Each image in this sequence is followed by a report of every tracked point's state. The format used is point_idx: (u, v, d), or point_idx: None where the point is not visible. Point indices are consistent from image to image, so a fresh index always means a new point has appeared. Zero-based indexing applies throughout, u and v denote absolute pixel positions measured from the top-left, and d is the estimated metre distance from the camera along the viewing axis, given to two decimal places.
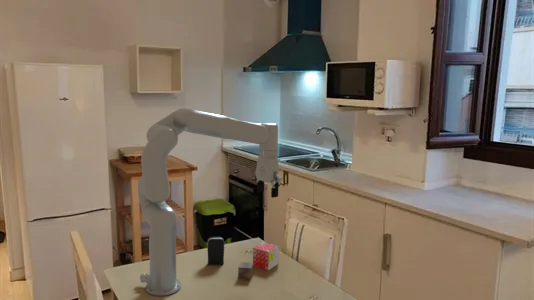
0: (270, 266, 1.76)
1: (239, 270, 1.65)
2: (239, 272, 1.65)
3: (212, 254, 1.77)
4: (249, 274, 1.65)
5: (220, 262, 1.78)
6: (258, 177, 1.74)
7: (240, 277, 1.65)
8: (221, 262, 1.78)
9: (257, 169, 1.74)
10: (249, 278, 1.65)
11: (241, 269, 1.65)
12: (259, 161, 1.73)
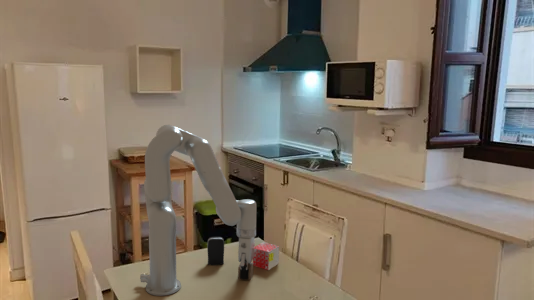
0: (270, 266, 1.76)
1: (239, 270, 1.65)
2: (239, 272, 1.65)
3: (212, 254, 1.77)
4: (249, 274, 1.65)
5: (220, 262, 1.78)
6: (251, 259, 1.63)
7: None
8: (221, 262, 1.78)
9: (251, 252, 1.62)
10: (249, 278, 1.65)
11: None
12: (251, 242, 1.63)
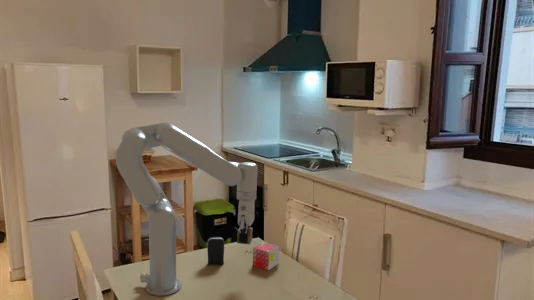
0: (270, 266, 1.76)
1: (238, 233, 1.63)
2: (238, 236, 1.63)
3: (212, 254, 1.77)
4: (248, 238, 1.62)
5: (220, 262, 1.78)
6: (251, 223, 1.61)
7: None
8: (221, 262, 1.78)
9: (251, 215, 1.60)
10: (248, 242, 1.62)
11: None
12: (251, 205, 1.60)
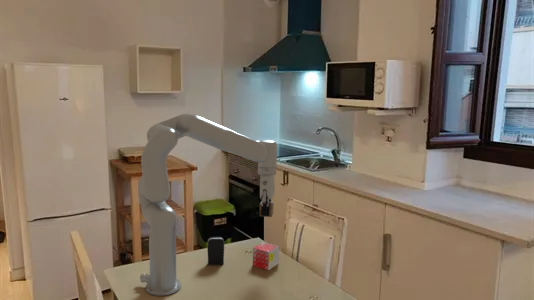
0: (270, 266, 1.76)
1: (260, 207, 1.73)
2: (260, 209, 1.73)
3: (212, 254, 1.77)
4: (270, 211, 1.73)
5: (220, 262, 1.78)
6: (272, 196, 1.71)
7: None
8: (221, 262, 1.78)
9: (272, 189, 1.70)
10: (270, 215, 1.73)
11: None
12: (272, 180, 1.71)
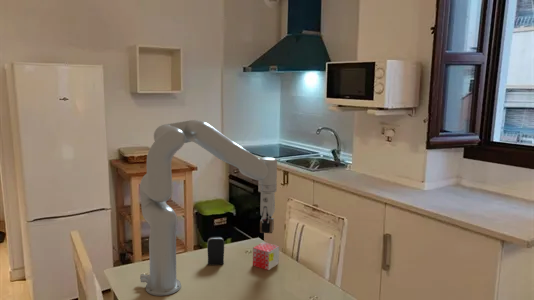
0: (270, 266, 1.76)
1: (261, 223, 1.75)
2: (261, 226, 1.75)
3: (212, 254, 1.77)
4: (270, 227, 1.74)
5: (220, 262, 1.78)
6: (272, 213, 1.73)
7: None
8: (221, 262, 1.78)
9: (272, 206, 1.72)
10: (270, 231, 1.74)
11: None
12: (273, 197, 1.72)
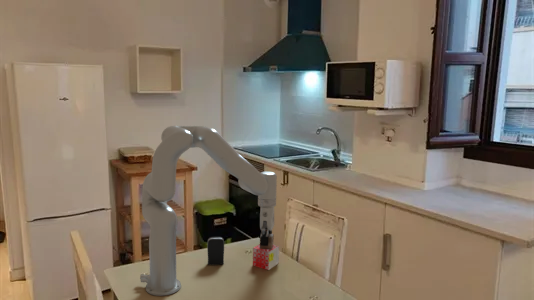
0: (270, 266, 1.76)
1: (260, 240, 1.76)
2: None
3: (212, 254, 1.77)
4: (270, 244, 1.75)
5: (220, 262, 1.78)
6: (272, 227, 1.74)
7: (261, 247, 1.76)
8: (221, 262, 1.78)
9: (272, 220, 1.73)
10: (270, 247, 1.75)
11: None
12: (272, 211, 1.73)
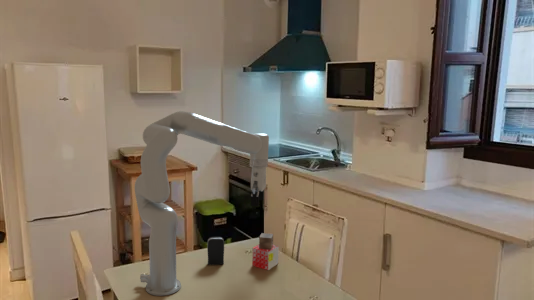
0: (270, 266, 1.76)
1: (260, 240, 1.76)
2: (260, 242, 1.76)
3: (212, 254, 1.77)
4: (269, 244, 1.75)
5: (220, 262, 1.78)
6: (263, 188, 1.75)
7: (261, 246, 1.76)
8: (221, 262, 1.78)
9: (262, 181, 1.74)
10: (269, 247, 1.75)
11: (262, 239, 1.75)
12: (263, 172, 1.75)
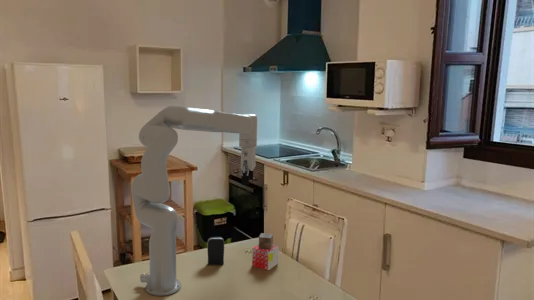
0: (270, 266, 1.76)
1: (259, 240, 1.76)
2: (260, 242, 1.76)
3: (212, 254, 1.77)
4: (269, 244, 1.75)
5: (220, 262, 1.78)
6: (252, 167, 1.80)
7: (260, 246, 1.76)
8: (221, 262, 1.78)
9: (252, 160, 1.78)
10: (269, 247, 1.75)
11: (262, 239, 1.75)
12: (253, 152, 1.79)
